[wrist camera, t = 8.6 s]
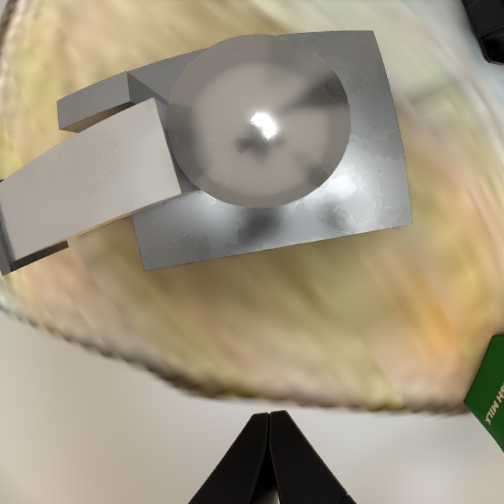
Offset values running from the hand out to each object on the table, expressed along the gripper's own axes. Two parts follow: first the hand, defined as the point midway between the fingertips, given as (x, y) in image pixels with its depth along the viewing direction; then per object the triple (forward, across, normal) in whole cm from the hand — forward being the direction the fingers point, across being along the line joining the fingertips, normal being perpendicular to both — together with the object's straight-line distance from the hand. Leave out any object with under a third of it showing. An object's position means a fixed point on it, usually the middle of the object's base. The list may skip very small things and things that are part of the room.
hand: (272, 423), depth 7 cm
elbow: (+9, +4, -7) cm, 13 cm away
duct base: (+12, -1, -8) cm, 14 cm away
